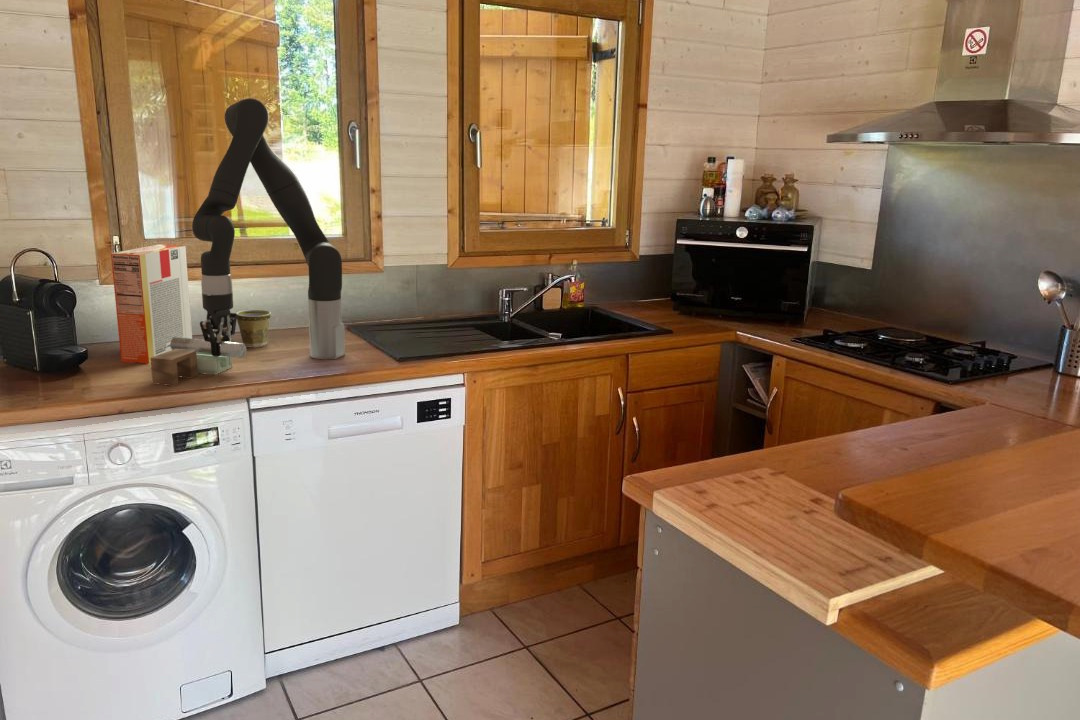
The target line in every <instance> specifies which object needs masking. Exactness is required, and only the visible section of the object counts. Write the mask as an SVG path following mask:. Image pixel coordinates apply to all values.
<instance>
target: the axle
mask: <svg viewBox="0 0 1080 720" xmlns="http://www.w3.org/2000/svg"><path fill="white" fill-rule="evenodd" d="M219 343H220V352H221V355H220V356H225V357H232V358H236V359H243V358H244V357H245V356H246V354H247V347H246V346H245V344H244V343H243V342H235V341H234V342H232V341H231V342H224V341H219ZM170 347H171V349H172V350H174V349H183V350H194V351H196V354H205V355H212V353H211V343H210V342H208V341H205V340H204V339H201V338H193V337H192V338H183V337H174V338H172V340H171V343H170Z"/></svg>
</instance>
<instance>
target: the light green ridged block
mask: <svg viewBox="0 0 1080 720" xmlns="http://www.w3.org/2000/svg"><path fill="white" fill-rule="evenodd" d="M196 355H197V369H198V374H202V373H205V375H212V374H214V375H213V376H217V375H218V373H219V374H220V372H221V373H223V372H225V371H227V370H226V369H228V370H230V369H232V368H233V359H232V358H233V357H225V356H218V357H217V356H212V355H205V354H196ZM231 367H232V368H231ZM229 368H230V369H229ZM224 370H225V371H224ZM222 371H223V372H222Z"/></svg>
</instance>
